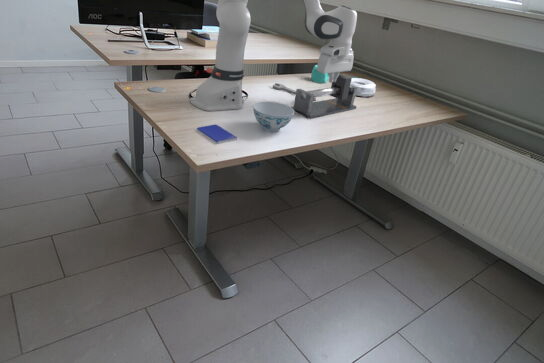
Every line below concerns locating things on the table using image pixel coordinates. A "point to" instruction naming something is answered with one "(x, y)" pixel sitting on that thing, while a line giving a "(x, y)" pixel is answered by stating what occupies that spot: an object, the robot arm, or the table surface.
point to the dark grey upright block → (342, 86)
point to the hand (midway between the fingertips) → (332, 82)
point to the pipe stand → (323, 102)
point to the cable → (363, 87)
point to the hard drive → (216, 134)
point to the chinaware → (272, 115)
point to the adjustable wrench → (285, 89)
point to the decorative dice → (318, 76)
